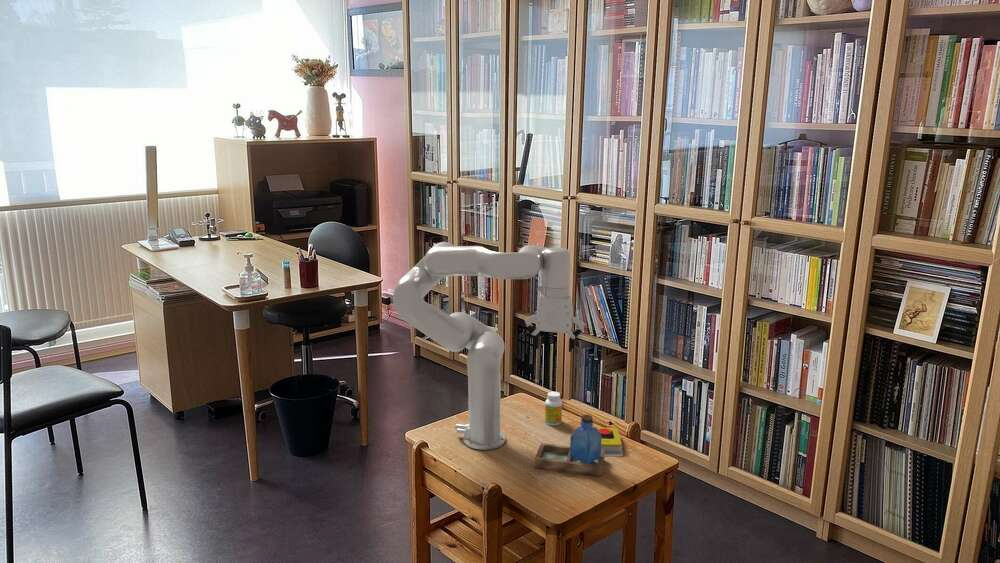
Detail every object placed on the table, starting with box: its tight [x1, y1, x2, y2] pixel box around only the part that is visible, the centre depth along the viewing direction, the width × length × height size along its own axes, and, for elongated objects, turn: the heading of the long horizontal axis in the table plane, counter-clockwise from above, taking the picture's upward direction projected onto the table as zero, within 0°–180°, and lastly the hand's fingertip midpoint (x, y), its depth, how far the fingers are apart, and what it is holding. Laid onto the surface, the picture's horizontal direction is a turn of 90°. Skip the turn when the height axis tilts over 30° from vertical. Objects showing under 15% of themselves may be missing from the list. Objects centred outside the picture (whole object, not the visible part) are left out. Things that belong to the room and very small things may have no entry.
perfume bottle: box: [569, 414, 602, 464], centre depth 200 cm, size 6×6×12 cm
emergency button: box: [595, 426, 624, 458], centre depth 215 cm, size 9×4×15 cm
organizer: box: [533, 442, 605, 478], centre depth 203 cm, size 18×10×3 cm, turn 77°
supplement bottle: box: [544, 391, 563, 426], centre depth 229 cm, size 5×5×10 cm
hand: (553, 349), depth 207 cm, fingers open, 9 cm apart
